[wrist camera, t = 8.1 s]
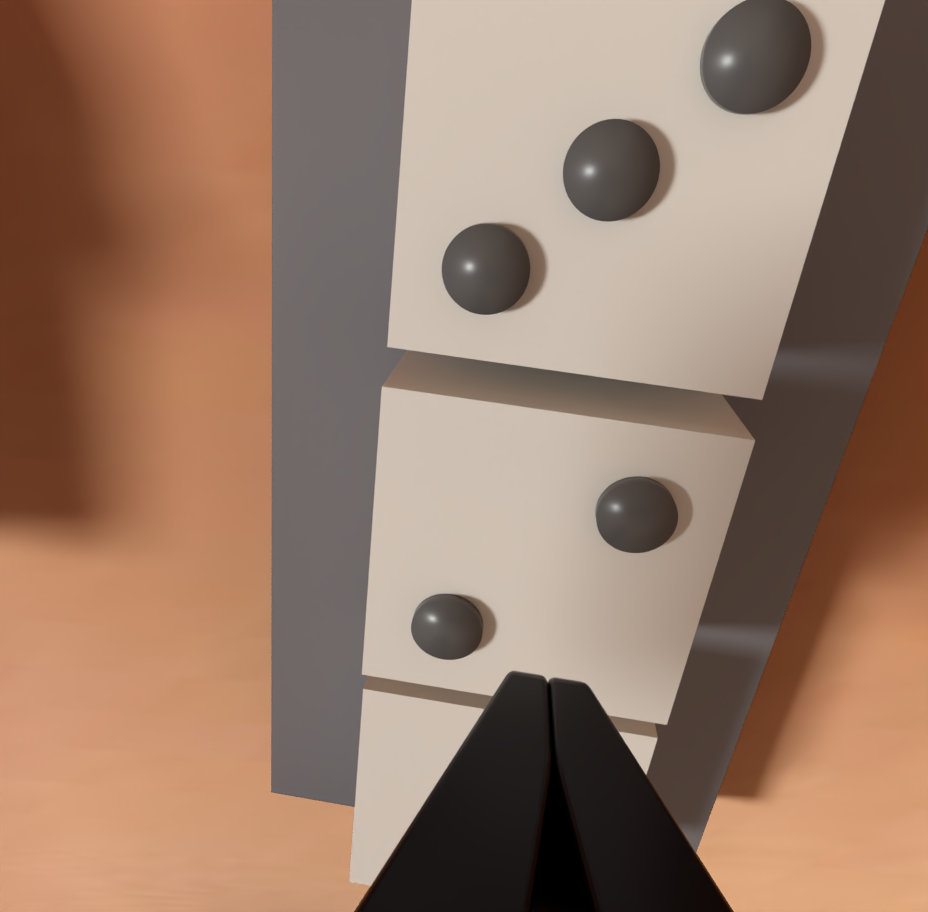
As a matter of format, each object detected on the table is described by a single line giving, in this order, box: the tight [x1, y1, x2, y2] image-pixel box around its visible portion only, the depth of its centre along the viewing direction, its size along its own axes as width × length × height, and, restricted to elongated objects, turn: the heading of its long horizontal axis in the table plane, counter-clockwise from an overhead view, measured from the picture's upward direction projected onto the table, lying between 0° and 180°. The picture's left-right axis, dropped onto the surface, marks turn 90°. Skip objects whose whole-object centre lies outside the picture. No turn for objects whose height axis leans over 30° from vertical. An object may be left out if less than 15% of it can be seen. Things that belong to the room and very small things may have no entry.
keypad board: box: [271, 0, 928, 852], centre depth 14 cm, size 18×10×2 cm, turn 173°
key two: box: [362, 350, 755, 725], centre depth 11 cm, size 5×5×2 cm
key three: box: [387, 0, 885, 400], centre depth 9 cm, size 5×5×2 cm
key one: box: [349, 676, 658, 886], centre depth 14 cm, size 5×5×2 cm
